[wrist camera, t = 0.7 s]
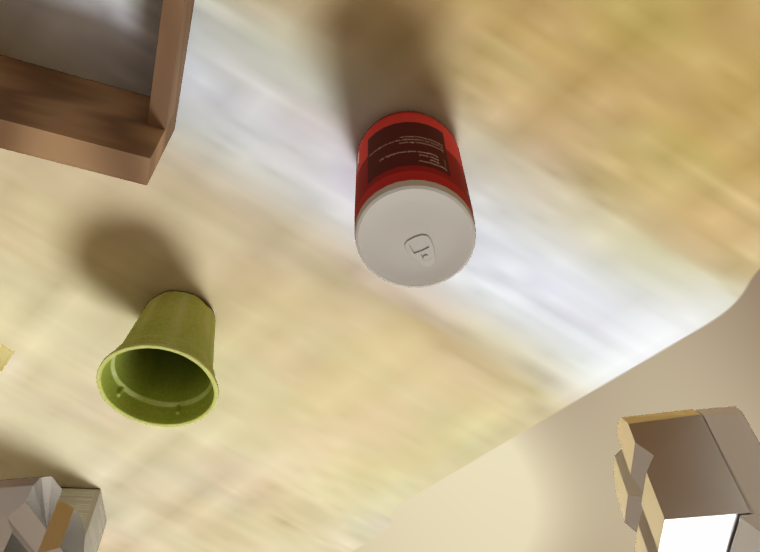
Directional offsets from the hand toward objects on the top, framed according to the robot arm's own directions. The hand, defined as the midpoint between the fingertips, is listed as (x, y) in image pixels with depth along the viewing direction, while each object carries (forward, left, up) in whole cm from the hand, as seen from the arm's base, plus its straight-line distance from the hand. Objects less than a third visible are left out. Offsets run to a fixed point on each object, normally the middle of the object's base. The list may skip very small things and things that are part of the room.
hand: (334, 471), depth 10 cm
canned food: (+15, +8, -41) cm, 45 cm away
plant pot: (+36, -6, -41) cm, 55 cm away
